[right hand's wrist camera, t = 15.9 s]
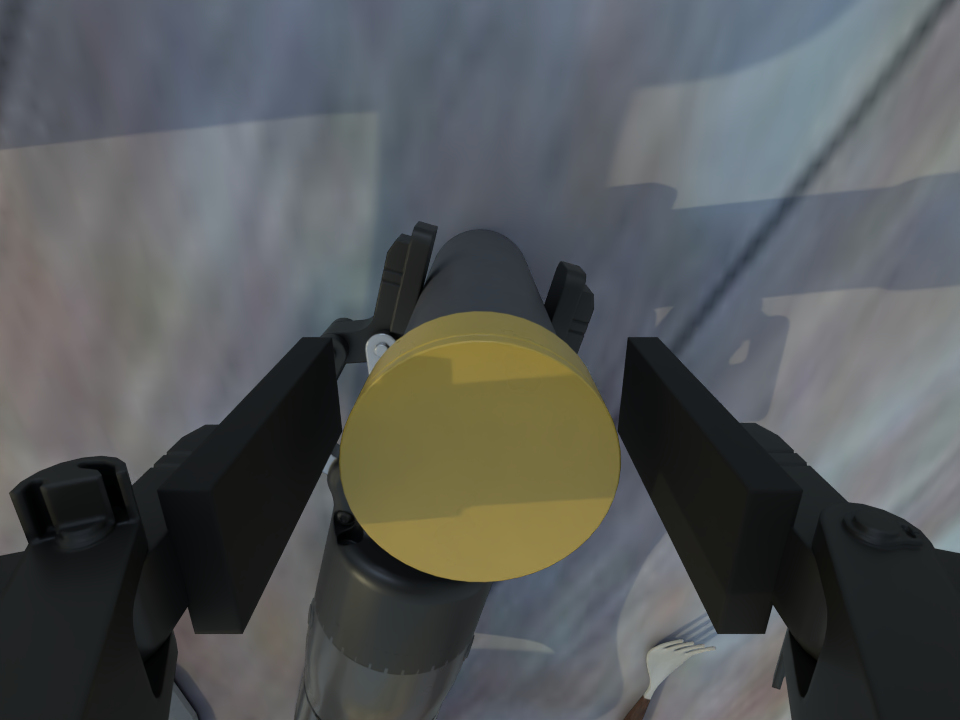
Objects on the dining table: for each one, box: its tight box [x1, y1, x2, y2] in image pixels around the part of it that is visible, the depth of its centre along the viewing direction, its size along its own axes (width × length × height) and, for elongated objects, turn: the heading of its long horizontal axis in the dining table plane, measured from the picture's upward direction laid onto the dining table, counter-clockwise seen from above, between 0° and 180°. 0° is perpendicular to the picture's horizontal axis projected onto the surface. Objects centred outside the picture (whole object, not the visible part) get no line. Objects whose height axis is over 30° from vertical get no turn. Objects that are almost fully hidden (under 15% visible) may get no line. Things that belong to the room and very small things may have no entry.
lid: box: [339, 311, 621, 582], centre depth 11 cm, size 5×5×2 cm
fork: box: [624, 639, 716, 720], centre depth 35 cm, size 3×16×2 cm, turn 164°
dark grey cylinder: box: [403, 230, 557, 336], centre depth 18 cm, size 5×5×16 cm
